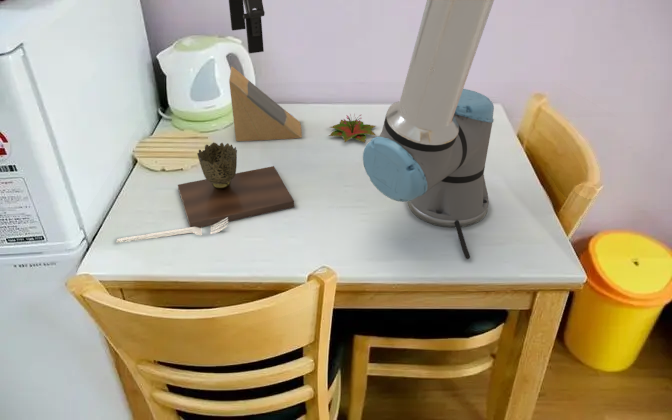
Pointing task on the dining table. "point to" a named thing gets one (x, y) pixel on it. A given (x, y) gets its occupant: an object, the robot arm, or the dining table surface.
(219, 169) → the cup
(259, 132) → the sandwich container
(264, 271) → the dining table surface
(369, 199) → the dining table surface
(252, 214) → the walnut board
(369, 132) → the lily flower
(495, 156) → the dining table surface
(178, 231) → the fork
